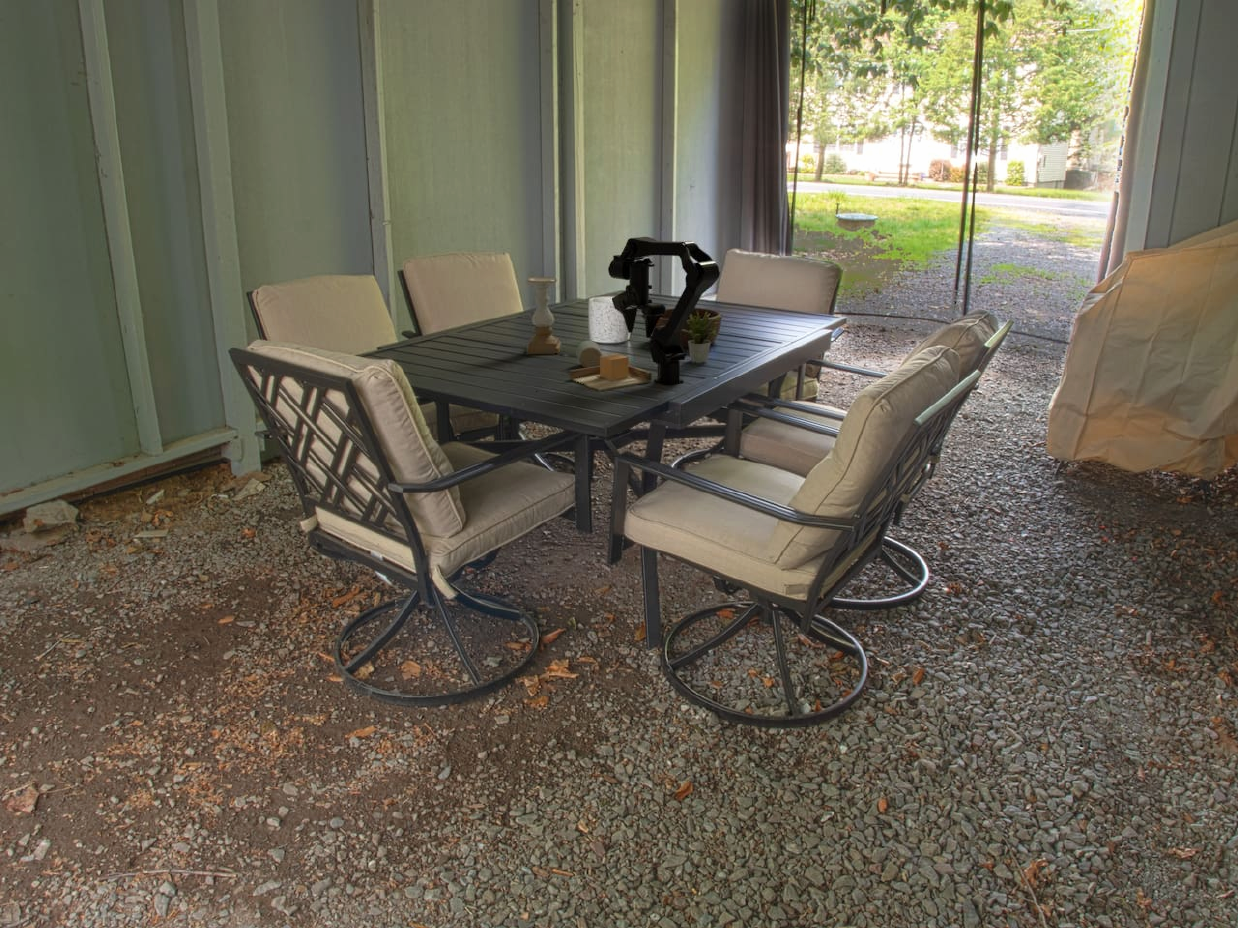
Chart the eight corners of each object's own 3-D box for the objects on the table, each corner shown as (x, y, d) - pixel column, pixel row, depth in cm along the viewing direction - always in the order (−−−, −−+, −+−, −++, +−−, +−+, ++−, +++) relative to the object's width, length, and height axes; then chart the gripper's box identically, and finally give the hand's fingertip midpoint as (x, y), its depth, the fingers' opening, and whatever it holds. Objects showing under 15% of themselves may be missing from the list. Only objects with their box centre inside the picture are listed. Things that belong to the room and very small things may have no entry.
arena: (651, 381, 254) (651, 372, 253) (599, 391, 244) (599, 381, 243) (620, 371, 266) (620, 362, 265) (570, 379, 257) (569, 370, 256)
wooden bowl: (732, 340, 308) (733, 310, 304) (700, 353, 288) (701, 322, 284) (670, 333, 320) (671, 305, 317) (635, 345, 300) (635, 316, 297)
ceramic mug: (579, 370, 267) (579, 346, 265) (576, 364, 275) (576, 340, 272) (613, 369, 269) (614, 344, 266) (609, 363, 277) (609, 339, 274)
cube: (617, 373, 261) (616, 353, 258) (628, 377, 256) (628, 357, 254) (600, 376, 257) (599, 356, 255) (611, 380, 253) (611, 359, 251)
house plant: (720, 368, 268) (721, 315, 263) (675, 366, 271) (676, 314, 266) (724, 357, 282) (725, 307, 276) (681, 356, 284) (682, 306, 279)
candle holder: (559, 354, 289) (556, 281, 281) (526, 354, 289) (522, 281, 281) (561, 346, 299) (559, 276, 291) (529, 347, 299) (526, 276, 291)
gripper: (598, 280, 255) (599, 333, 261) (634, 288, 241) (634, 344, 246) (629, 277, 261) (630, 328, 267) (667, 284, 247) (666, 339, 252)
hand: (639, 335), depth 258 cm, fingers open, 9 cm apart
